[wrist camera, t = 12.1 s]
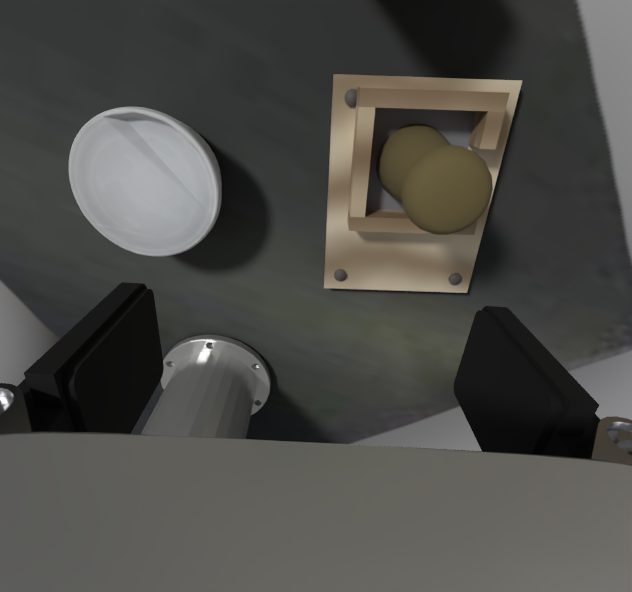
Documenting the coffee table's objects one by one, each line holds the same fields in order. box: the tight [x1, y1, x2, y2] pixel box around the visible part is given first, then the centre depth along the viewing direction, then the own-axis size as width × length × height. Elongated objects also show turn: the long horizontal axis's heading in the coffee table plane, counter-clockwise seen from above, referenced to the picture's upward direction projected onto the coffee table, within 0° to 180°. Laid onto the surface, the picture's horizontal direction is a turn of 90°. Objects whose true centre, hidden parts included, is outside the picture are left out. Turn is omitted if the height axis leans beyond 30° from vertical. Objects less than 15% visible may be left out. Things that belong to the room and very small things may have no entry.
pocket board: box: [324, 74, 522, 293], centre depth 32 cm, size 18×14×4 cm
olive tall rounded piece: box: [376, 124, 493, 235], centre depth 26 cm, size 6×6×11 cm
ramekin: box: [69, 107, 222, 256], centre depth 30 cm, size 11×11×5 cm
